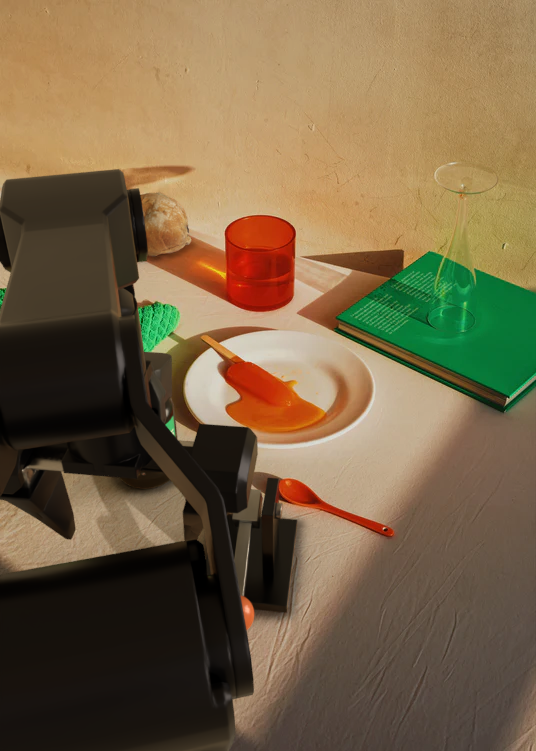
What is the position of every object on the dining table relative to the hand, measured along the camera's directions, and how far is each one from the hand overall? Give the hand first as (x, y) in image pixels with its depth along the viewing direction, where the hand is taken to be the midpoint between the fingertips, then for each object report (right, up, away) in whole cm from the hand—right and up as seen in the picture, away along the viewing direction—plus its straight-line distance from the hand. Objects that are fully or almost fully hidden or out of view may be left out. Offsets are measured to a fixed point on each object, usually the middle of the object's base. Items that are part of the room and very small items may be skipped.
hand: (130, 540), depth 55 cm
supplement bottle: (-3, +2, +25) cm, 25 cm away
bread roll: (-11, +32, +66) cm, 75 cm away
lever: (+8, -4, +9) cm, 13 cm away
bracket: (+8, -5, +14) cm, 17 cm away
